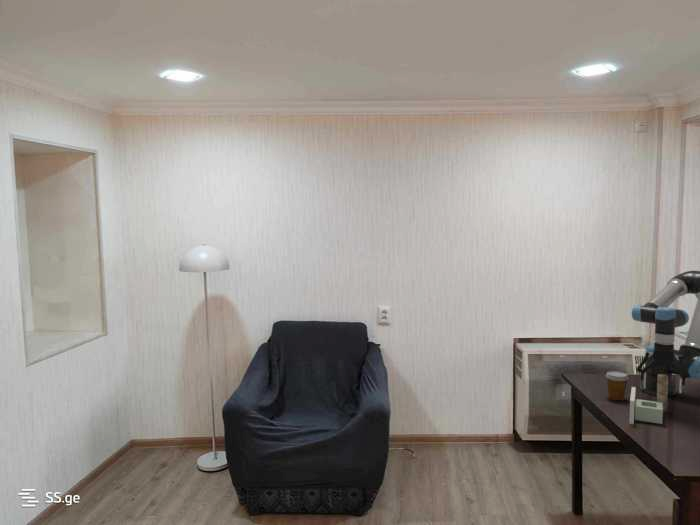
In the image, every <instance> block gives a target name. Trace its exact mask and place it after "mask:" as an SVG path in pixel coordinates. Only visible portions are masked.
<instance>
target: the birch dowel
mask: <svg viewBox="0 0 700 525" xmlns="http://www.w3.org/2000/svg"><path fill="white" fill-rule="evenodd" d="M668 397H669V396H668V376H667V375H664V374H658V381H657V395H656V402H662V403H663V413H667V412H668Z"/></svg>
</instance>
